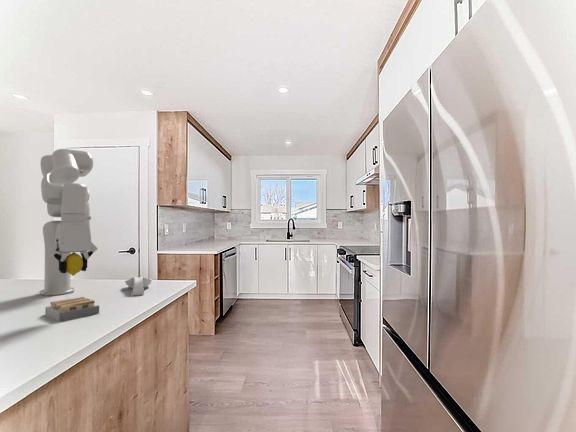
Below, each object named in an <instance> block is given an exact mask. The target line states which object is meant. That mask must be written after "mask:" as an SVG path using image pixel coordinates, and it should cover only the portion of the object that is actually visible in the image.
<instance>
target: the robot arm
mask: <svg viewBox="0 0 576 432" xmlns="http://www.w3.org/2000/svg"><path fill="white" fill-rule="evenodd" d="M39 166H40V170H41V174H42V179H41V183H40V189H41V197H42V200H43V202H44V204H45V203H46V209H47V214H48V215H49V217H52V218H60V220H50V221H47V222H45V223H44V225H43V226H42V235H43V241H44V242H43V243H44V285H43V289H42V290H40V291H39V294H40V295H41V296H59V295H65V294H71V293H73V292H74V291H75V287H72V286H71V276H72V275H71V274H70V273H67V272H66V261H65V258H66V257H67V256H68V255H70V254H72V253H73V252H74V253H80V254H79V255H80V256H81V257H82V260H83V267H82V269H81V271H82V272H86V271H87V269H88V260H89V259H90V257H92V255H93V254H94V253H96V251H98V247H97V246H96V245H95V244H94V243H93V242H92V234H91V226H90V225H91V223H90V220H92V216H91V215H90V214H91V213H90V211H91V209H90V203H89V201H90V191H89V189H88V186H87V185H86V184H84V183H78V182H76V181H78V179H79V178H83V177H86V176H88V175H89V174H90V173H91V172H92V170H93V167H94V159H93V156H92V154H90V153H89V152H88V151H84V150H78V149H77V150H76V149H68V148H59V149H55V150H54V151H53V152H52V154H48V155H44V156H42V157H41V158H40V165H39ZM81 271H80V272H81Z"/></svg>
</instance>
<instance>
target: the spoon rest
mask: <svg viewBox="0 0 576 432" xmlns="http://www.w3.org/2000/svg"><path fill="white" fill-rule="evenodd" d="M152 281H153V279H152V278H147V277H145V276H140V277H136V276H133V277H132V278H129V279H127V280H125V281H124V282H125V284H126V285H127V286H128V287H129V288H130V289H131V290H132V291H131V293H132V294H131V295H132V296H134V297H136V296H143V295H145V289H146V288H147V287H149V286H150V284H151V283H152Z"/></svg>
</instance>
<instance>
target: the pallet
mask: <svg viewBox="0 0 576 432" xmlns="http://www.w3.org/2000/svg"><path fill="white" fill-rule="evenodd" d="M95 302H96V301H95V300H94V299H90V298H88V297H87V298H86V297H84V296H79V297H72V298H66V299H61V300H56V301H50V306H51V307H52V308H55V309H57V310H59V311H62V312H67V311H70V308H73V309H76V310H77V309H82V305H83V306H86V307H92V306H94V304H95Z"/></svg>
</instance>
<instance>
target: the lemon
mask: <svg viewBox="0 0 576 432" xmlns="http://www.w3.org/2000/svg"><path fill="white" fill-rule="evenodd" d="M65 261H66V272H67V273H70V274H71V276H75V275H76V274H78V273H79V272H81V269H82V267H83V260H82V256H81V254H78V253H77V252H71V254H70V255H68V256H67V257H66V258H65Z"/></svg>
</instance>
